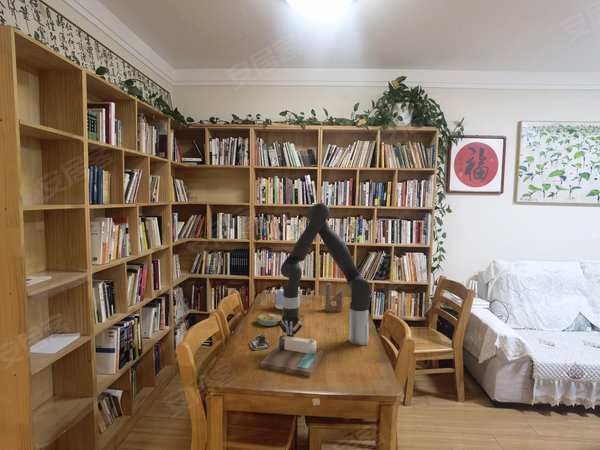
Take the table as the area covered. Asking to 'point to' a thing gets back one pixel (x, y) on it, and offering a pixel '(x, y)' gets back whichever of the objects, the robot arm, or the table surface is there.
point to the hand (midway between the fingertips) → (290, 341)
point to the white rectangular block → (297, 344)
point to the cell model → (268, 319)
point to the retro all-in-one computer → (280, 299)
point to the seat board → (292, 361)
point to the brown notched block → (336, 298)
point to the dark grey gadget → (259, 343)
